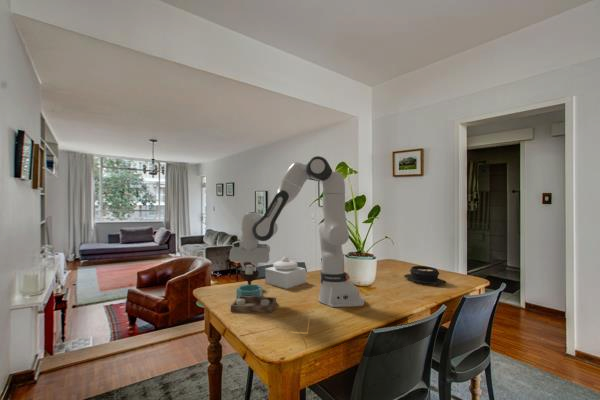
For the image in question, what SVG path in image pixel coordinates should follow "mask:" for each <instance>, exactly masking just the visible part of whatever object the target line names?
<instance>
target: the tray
mask: <svg viewBox="0 0 600 400" xmlns="http://www.w3.org/2000/svg"><path fill="white" fill-rule="evenodd" d="M240 298H243V299H245V305H236V304H237V299H240ZM263 299H267V300H269V306H261V300H263ZM276 304H277V297H275V296H272V297H270V296H261V297H252V296H239V297H238V298H237V297H236V299H235V300H234V301H233V303H232V304H231V305H230V312H237V313H238V312H239V313H259V314H261V313H262V314H272V312H273V310H274V308H275V307H276Z"/></svg>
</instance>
